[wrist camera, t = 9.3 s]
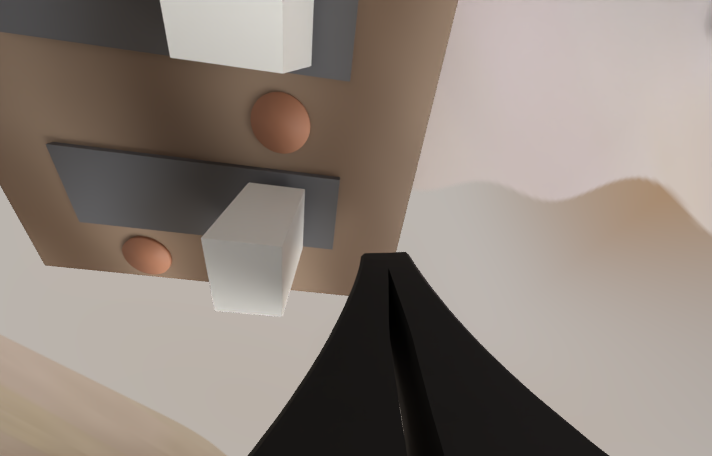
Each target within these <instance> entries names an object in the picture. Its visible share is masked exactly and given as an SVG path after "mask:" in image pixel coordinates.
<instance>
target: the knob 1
mask: <svg viewBox="0 0 712 456" xmlns="http://www.w3.org/2000/svg"><path fill="white" fill-rule="evenodd" d="M160 4H161V10H162V15H163V21H164V26H165V32H166V37H167V43H168V48H169V54H170V58H177V59H184V60H191V61H198V62H205V63H212V64H219V65H226V66H233V67H240V68H247V69H254V70H261V71H268V72H275V73H282V74H283V73H287V72H291V71H295V70H299V69H302V68H306V67H310V66H311V60H312V34H313V9H314V0H160Z"/></svg>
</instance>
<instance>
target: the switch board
mask: <svg viewBox="0 0 712 456" xmlns="http://www.w3.org/2000/svg"><path fill="white" fill-rule="evenodd" d="M457 3H458V0H314V9H313V34H312V60H311V66H310V67H306V68H302V69H299V70H295V71H291V72H287V73H283V74H282V73H275V72H268V71H261V70H254V69H247V68H240V67H233V66H226V65H219V64H212V63H205V62H198V61H191V60H184V59H177V58H170V54H169V48H168V43H167V37H166V32H165V26H164V21H163V15H162V10H161V4H160V0H0V186H1V187H2V189H3V191H4V193H5V195H6V196H7V198H8V200H9V202H10V204H11V205H12V207H13V209H14V211H15V213H16V214H17V216H18V218H19V220H20V221H21V223H22V225H23V227H24V229H25V230H26V232H27V234H28V235H29V238H30V239H31V241H32V242H33V245H34V246H35V248H36V250H37V252H38V254H39V255H40V257H41V259H42V261H43V263H44V264H45V265H47V266H57V267H67V268H77V269H88V270H97V271H108V272H117V273H127V274H137V275H147V276H157V277H167V278H177V279H187V280H196V281H206V282H209V279H208V273H207V268H206V263H205V257H204V252H203V247H202V241H201V237H202V236H203V235H204V234H205V233H206V232H207V230H208V229H209V228H210V227H211V226H212V225H213V223H214V222H215V221H216V220H217V219H218V218H219V216H220V215H221V214H222V213H223V212H224V211H225V209H226V208H227V207H228V206H229V205H230V204H231V202H232V201H233V200H234V199H235V198H236V197H237V195H238V194H239V193H240V192H241V191H242V190H243V188H244V187H245V186H246V185H247V184H248V183H249V182H250V183H258V184H266V185H274V186H283V187H291V188H299V189H305V201H304V228H303V249H302V252H301V255H300V259H299V262H298V266H297V269H296V273H295V276H294V279H293V283H292V286H291V290H297V291H306V292H316V293H326V294H336V295H346V296H349V294H350V292H351V290H352V287H353V285H354V282H355V279H356V276H357V273H358V269H359V265H360V259H361V256H362V255H363V254H364V253H393V252H396V250H397V246H398V242H399V238H400V234H401V229H402V226H403V222H404V217H405V213H406V209H407V205H408V201H409V197H410V193H411V189H412V185H413V181H414V177H415V173H416V169H417V165H418V161H419V157H420V153H421V149H422V145H423V141H424V137H425V132H426V128H427V124H428V120H429V116H430V112H431V108H432V104H433V100H434V96H435V92H436V88H437V84H438V80H439V76H440V72H441V68H442V64H443V60H444V56H445V52H446V47H447V43H448V39H449V35H450V31H451V27H452V23H453V19H454V15H455V11H456V7H457Z"/></svg>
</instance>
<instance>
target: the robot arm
mask: <svg viewBox="0 0 712 456" xmlns="http://www.w3.org/2000/svg"><path fill="white" fill-rule="evenodd" d="M399 405H400V406H399ZM400 410H401V412H400ZM401 416H402V419H401ZM402 423H403V425H402ZM403 430H404V432H403ZM248 456H609V455H607V454H606V453H605V452H604V451H602V450H601V449H600V448H598V447H597V446H596V445H595V444H593V443H592V442H590V440H588V439H587V438H586V437H585V436H583V435H582V434H581V433H580V432H579V431H578V430H576V429H575V428H574V427H573V426H572V425H570V424H569V423H568V422H566V420H564V419H563V418H562V417H561V416H559V415H558V414H557V413H556V412H555V411H553V410H552V409H551V408H550V407H549V406H547V405H546V404H545V403H544V402H543V401H542V400H540V399H539V398H538V397H537V396H536V395H534V394H533V393H532V392H531V391H530V390H529V389H528V388H526V387H525V386H524V385H523V384H522V383H521V382H520V381H519V380H518V379H516V378H515V377H514V376H513V375H512V374H511V373H510V372H509V371H508V370H507V369H506V368H505V367H504V366H503V365H502V364H501V363H499V362H498V361H497V360H496V359H495V358H494V357H493V356H492V355H491V354H490V353H489V352H488V351H487V350H486V349H485V348H484V347H483V346H482V345H481V344H480V343H479V342H478V341H477V340H476V339H475V338H474V337H473V335H472V334H471V333H470V332H469V331H468V330H467V329H466V328H465V327H464V326H463V325H462V323H461V322H460V321H459V320H458V319H457V318H456V317H455V316H454V314H453V313H452V312H451V311H450V310H449V309H448V308H447V306H446V305H445V304H444V302H443V301H442V300H441V299H440V298H439V296H438V295H437V294H436V293H435V291H434V290H433V289H432V287H431V286H430V285H429V284H428V282H427V281H426V279H425V278H424V277H423V275H422V274H421V273H420V271H419V270H418V268H417V267H416V265H415V264H414V262H413V261H412V259H411V258H410V256H409V255H408V254H407V253H406V252H393V253H364V254H363V255H362V256H361V259H360V265H359V269H358V273H357V276H356V279H355V282H354V285H353V287H352V290H351V292H350V294H349V297H348V299H347V302H346V304H345V306H344V308H343V311H342V312H341V315H340V317H339V319H338V320H337V323H336V324H335V326H334V328H333V330H332V333H331V335H330V336H329V338H328V340H327V341H326V343H325V345H324V347H323V348H322V350H321V352H320V354H319V355H318V357H317V359H316V360H315V362H314V363H313V365H312V367H311V368H310V370H309V372H308V373H307V375H306V376H305V378H304V379H303V381H302V382H301V384H300V385H299V387H298V388H297V390H296V391H295V393H294V394H293V396H292V397H291V399H290V400H289V401H288V403H287V404H286V406H285V407H284V408H283V410H282V411H281V413H280V414H279V415H278V417H277V418H276V420H275V421H274V422H273V424H272V425H271V426H270V427H269V429H268V430H267V431H266V433H265V434H264V435H263V437H262V438H261V439H260V440H259V442H258V443H257V444H256V446H255V447H254V449H253V450H252V451H251V452H250V454H249V455H248Z"/></svg>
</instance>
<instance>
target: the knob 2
mask: <svg viewBox="0 0 712 456" xmlns="http://www.w3.org/2000/svg"><path fill="white" fill-rule="evenodd" d="M304 201H305V189H299V188H291V187H283V186H274V185H266V184H258V183H250V182H249V183H248V184H247V185H246V186H245V187H244V188H243V190H242V191H241V192H240V193H239V194H238V195H237V197H236V198H235V199H234V200H233V201H232V202H231V204H230V205H229V206H228V207H227V208H226V209H225V211H224V212H223V213H222V214H221V215H220V216H219V218H218V219H217V220H216V221H215V222H214V223H213V225H212V226H211V227H210V228H209V229H208V230H207V232H206V233H205V234H204V235H203V236H202V237H201V241H202V247H203V252H204V257H205V263H206V268H207V273H208V279H209V284H210V289H211V295H212V300H213V306H214V310H215V311H222V312H223V311H224V312H233V313H244V314H254V315H265V316H276V317H283V314H284V310H285V307H286V303H287V300H288V297H289V293H290V290H291V286H292V283H293V279H294V276H295V273H296V269H297V266H298V262H299V259H300V255H301V252H302V249H303V228H304Z"/></svg>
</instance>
